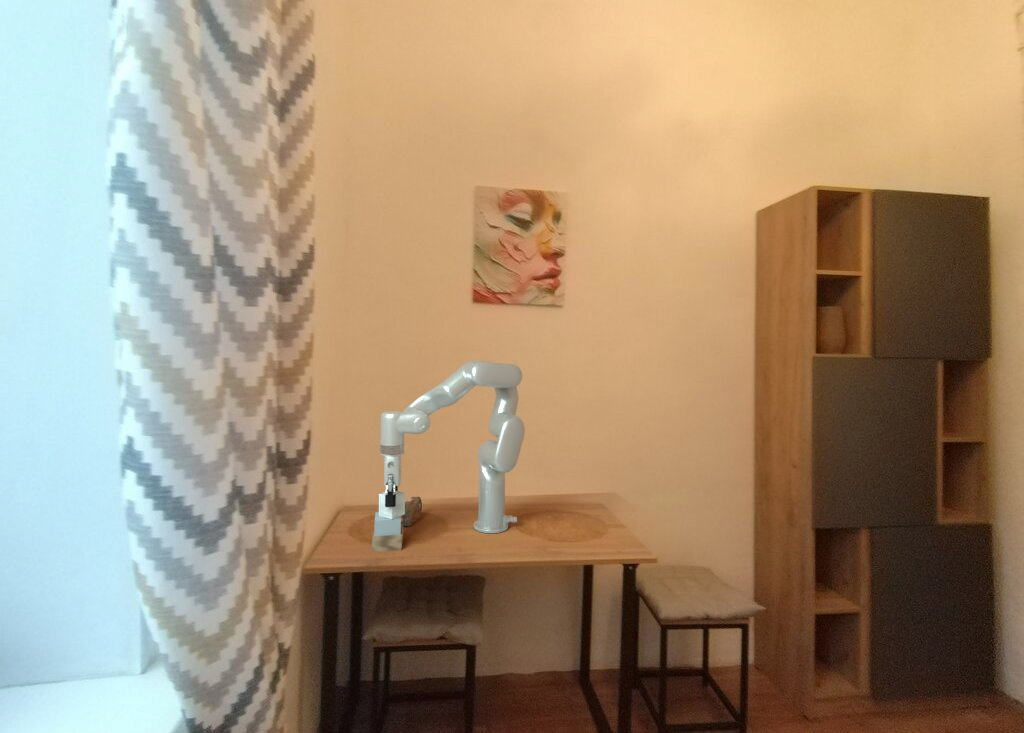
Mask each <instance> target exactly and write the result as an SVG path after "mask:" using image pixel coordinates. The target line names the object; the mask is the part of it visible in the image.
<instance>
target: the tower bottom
mask: <svg viewBox="0 0 1024 733" xmlns="http://www.w3.org/2000/svg"><path fill="white" fill-rule="evenodd" d="M403 542H404V526H403V525H401V533H400V535H389V536H375V537H374V532H373V534H372V538H371V552H372V551H377V552H392V551H393V552H395V550H396V551H397V552H398V551H402V550H403V549H402V548H403ZM401 549H402V550H401Z"/></svg>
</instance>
